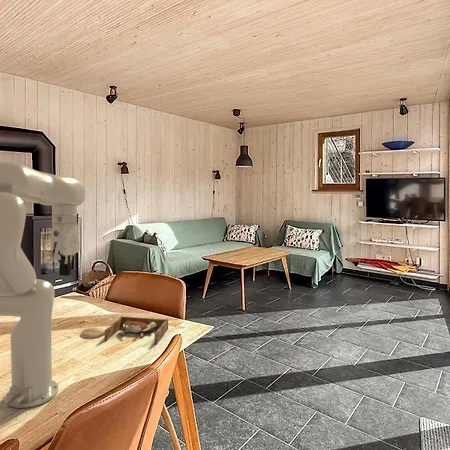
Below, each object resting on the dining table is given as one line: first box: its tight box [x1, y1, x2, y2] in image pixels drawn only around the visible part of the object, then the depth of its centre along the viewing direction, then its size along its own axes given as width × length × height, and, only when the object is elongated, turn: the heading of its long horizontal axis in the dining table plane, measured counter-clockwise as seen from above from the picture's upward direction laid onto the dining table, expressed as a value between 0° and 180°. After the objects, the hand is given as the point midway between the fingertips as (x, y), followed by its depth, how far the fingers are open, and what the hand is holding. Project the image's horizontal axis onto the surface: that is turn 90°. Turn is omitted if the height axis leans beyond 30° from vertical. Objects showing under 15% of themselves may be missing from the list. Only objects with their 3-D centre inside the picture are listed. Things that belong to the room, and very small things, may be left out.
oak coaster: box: [80, 326, 106, 339], centre depth 140 cm, size 9×9×1 cm
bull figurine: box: [120, 320, 156, 338], centre depth 142 cm, size 4×13×8 cm
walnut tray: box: [104, 316, 169, 346], centre depth 140 cm, size 16×20×4 cm
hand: (65, 275), depth 120 cm, fingers closed
